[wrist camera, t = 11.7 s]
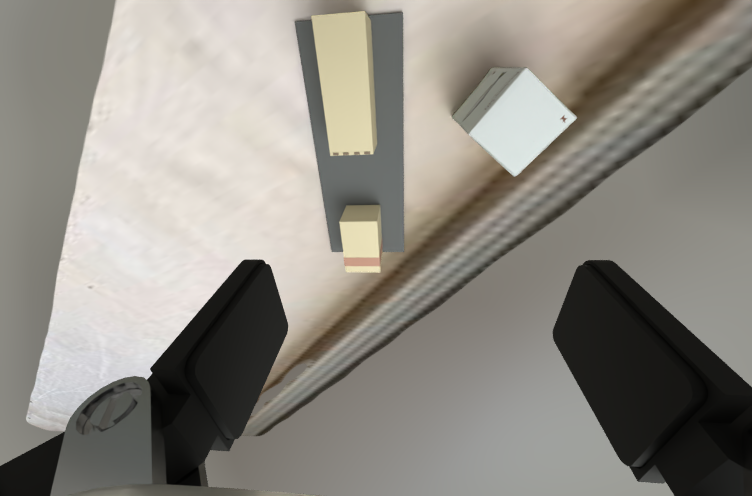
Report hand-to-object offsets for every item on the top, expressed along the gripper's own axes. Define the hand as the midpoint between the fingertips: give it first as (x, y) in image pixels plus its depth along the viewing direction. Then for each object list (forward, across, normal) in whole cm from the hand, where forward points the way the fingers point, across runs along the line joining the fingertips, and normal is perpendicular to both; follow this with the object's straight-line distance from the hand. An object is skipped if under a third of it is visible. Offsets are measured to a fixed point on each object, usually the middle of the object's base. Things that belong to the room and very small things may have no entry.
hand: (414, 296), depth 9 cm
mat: (+36, +7, +4) cm, 37 cm away
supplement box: (+36, -11, -1) cm, 38 cm away
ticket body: (+36, +7, -4) cm, 37 cm away
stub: (+36, +7, +16) cm, 40 cm away
